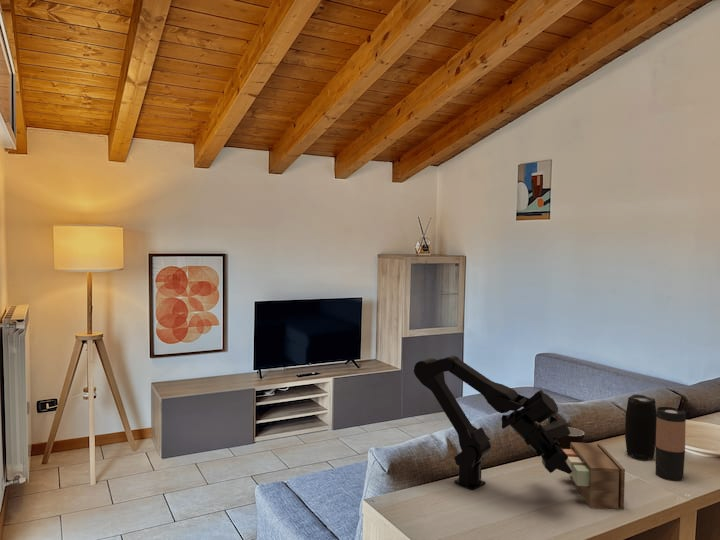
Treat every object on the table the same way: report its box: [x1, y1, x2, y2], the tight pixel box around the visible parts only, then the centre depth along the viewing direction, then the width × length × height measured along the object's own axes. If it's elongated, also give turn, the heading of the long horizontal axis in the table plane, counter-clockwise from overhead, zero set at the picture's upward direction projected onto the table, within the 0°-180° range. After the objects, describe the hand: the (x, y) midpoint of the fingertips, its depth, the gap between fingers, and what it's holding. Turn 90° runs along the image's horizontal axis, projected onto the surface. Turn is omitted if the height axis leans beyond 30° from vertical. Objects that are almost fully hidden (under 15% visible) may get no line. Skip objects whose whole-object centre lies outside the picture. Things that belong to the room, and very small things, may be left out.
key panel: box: [569, 442, 626, 510], centre depth 149 cm, size 8×19×11 cm, turn 174°
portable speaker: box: [624, 394, 657, 461], centre depth 176 cm, size 9×9×20 cm
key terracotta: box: [563, 449, 576, 463], centre depth 156 cm, size 6×4×4 cm, turn 84°
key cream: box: [567, 457, 583, 477], centre depth 150 cm, size 6×4×4 cm, turn 84°
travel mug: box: [655, 406, 687, 482], centre depth 161 cm, size 8×8×20 cm
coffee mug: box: [555, 426, 585, 449], centre depth 171 cm, size 12×9×10 cm
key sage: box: [573, 465, 590, 486], centre depth 144 cm, size 6×4×4 cm, turn 84°
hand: (570, 472), depth 144 cm, fingers closed
